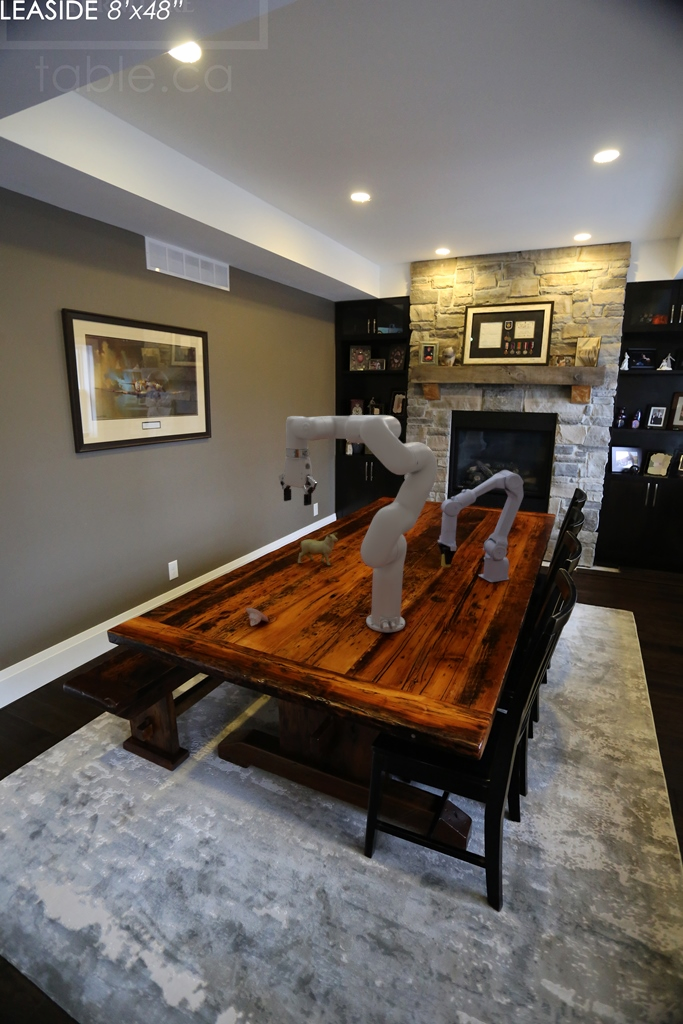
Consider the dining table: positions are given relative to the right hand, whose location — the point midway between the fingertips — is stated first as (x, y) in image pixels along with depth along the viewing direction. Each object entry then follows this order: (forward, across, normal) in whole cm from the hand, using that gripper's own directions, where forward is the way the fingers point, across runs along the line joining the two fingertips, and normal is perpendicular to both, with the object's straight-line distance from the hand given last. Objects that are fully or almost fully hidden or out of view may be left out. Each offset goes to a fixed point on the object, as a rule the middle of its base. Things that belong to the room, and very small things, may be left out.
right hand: (446, 562), depth 201 cm
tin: (+1, 0, 0) cm, 1 cm away
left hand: (-28, +14, -60) cm, 68 cm away
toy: (+7, -21, -50) cm, 54 cm away
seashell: (+7, +32, -74) cm, 81 cm away
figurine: (+7, -20, +28) cm, 35 cm away
